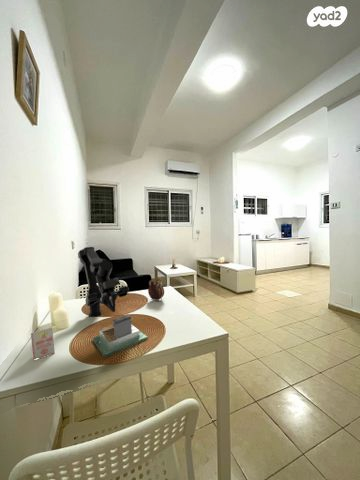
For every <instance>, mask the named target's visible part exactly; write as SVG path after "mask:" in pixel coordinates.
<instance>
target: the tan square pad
mask: <svg viewBox="0 0 360 480" xmlns="http://www.w3.org/2000/svg"><path fill="white" fill-rule="evenodd" d="M133 320H134V317H131V322H133ZM112 327H114V324H113V323H112V324H110V325H107V326H105V327H104V326H103V327H102V328H101V330H106V329H109V328H112Z"/></svg>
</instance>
